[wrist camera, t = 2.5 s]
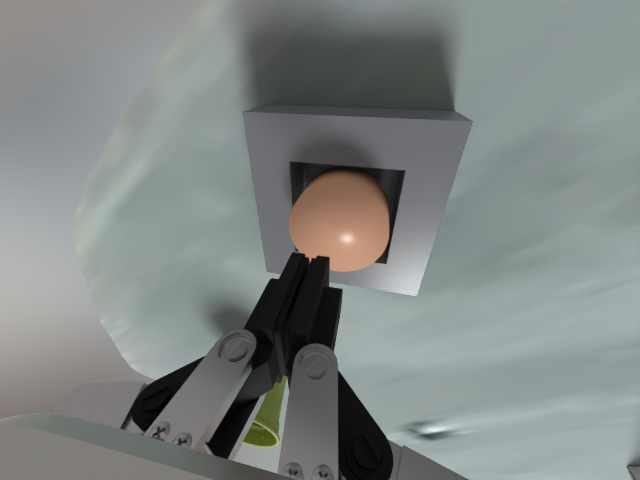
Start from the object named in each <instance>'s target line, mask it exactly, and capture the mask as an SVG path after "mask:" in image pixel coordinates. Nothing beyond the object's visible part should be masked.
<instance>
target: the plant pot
mask: <svg viewBox="0 0 640 480" xmlns="http://www.w3.org/2000/svg"><path fill="white" fill-rule="evenodd" d="M286 379H287V376H283V377H282V380H281V383H276V382H275V384H274V387H273V389H271V390H270V391H268V392H267V393H266V396H265V399H264V401H263V403H262V405H261V407H260V409H259V411H258V413H257V415H256V417H255V419H254V421H253V423H252V425H251V427H250V429H249V430H248V432H247V434H246V436H245V438H244V440H243V443H245V444H249V445H253V446H257V447H264V448H269V447H275V446H277V445H278V444H279V441H280V438H279V435H278V431H279V416H280V411H281V405H282V400H283V394H284V389H285V384H286Z"/></svg>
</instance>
